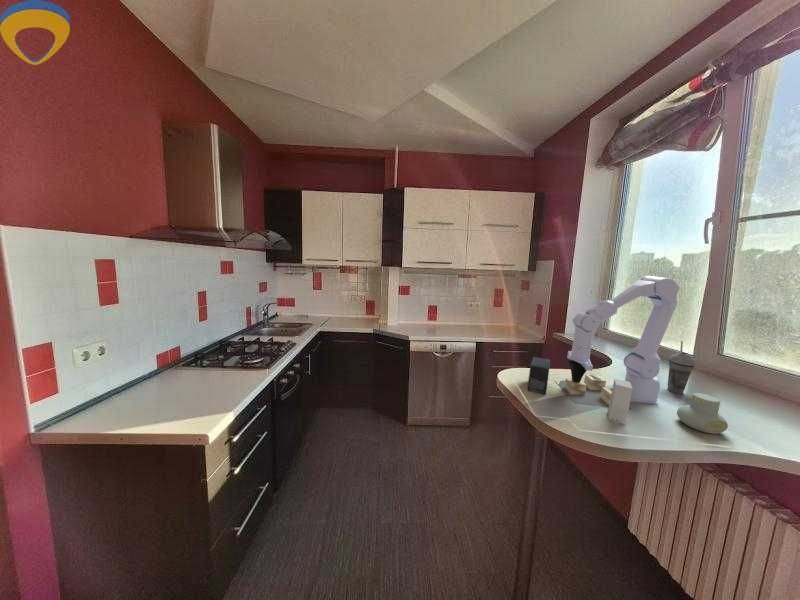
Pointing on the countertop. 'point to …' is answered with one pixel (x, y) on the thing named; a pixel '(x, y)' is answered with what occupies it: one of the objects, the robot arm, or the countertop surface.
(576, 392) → the plain block
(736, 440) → the countertop surface
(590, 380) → the marked block
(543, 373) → the small box
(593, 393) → the mat
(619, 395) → the skincare box
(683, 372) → the beverage cup
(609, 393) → the marked block
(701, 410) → the air freshener
